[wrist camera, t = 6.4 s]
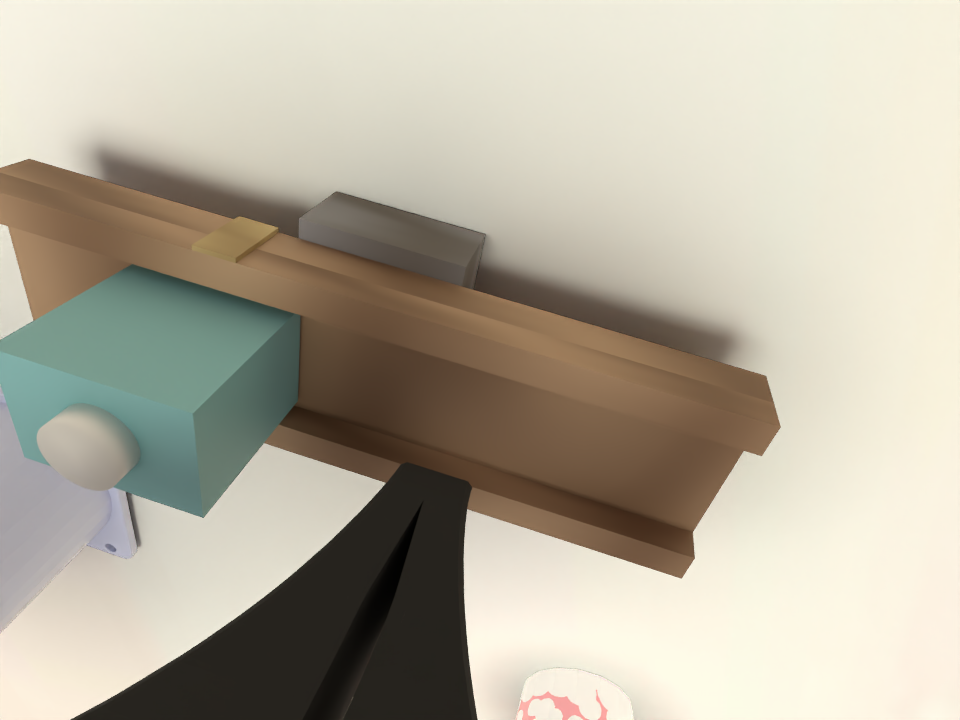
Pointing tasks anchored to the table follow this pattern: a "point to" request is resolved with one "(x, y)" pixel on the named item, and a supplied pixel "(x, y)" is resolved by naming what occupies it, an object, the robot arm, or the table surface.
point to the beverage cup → (572, 697)
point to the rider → (151, 386)
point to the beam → (428, 360)
